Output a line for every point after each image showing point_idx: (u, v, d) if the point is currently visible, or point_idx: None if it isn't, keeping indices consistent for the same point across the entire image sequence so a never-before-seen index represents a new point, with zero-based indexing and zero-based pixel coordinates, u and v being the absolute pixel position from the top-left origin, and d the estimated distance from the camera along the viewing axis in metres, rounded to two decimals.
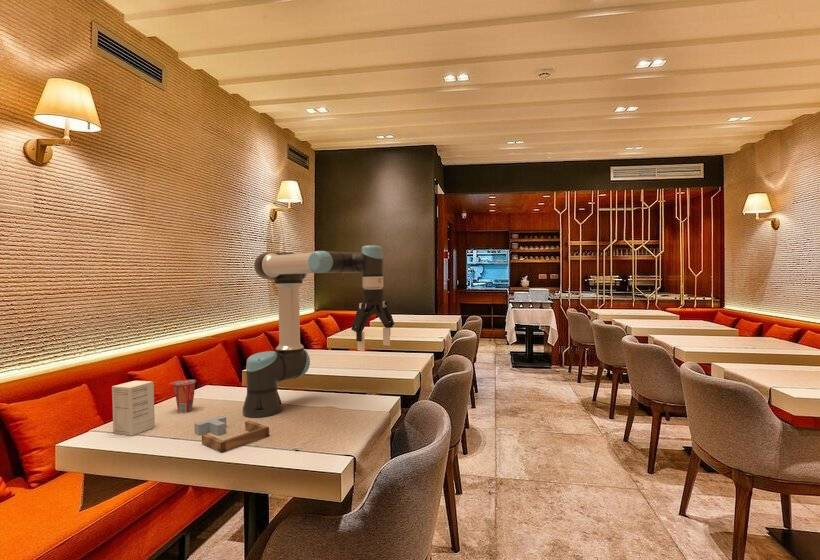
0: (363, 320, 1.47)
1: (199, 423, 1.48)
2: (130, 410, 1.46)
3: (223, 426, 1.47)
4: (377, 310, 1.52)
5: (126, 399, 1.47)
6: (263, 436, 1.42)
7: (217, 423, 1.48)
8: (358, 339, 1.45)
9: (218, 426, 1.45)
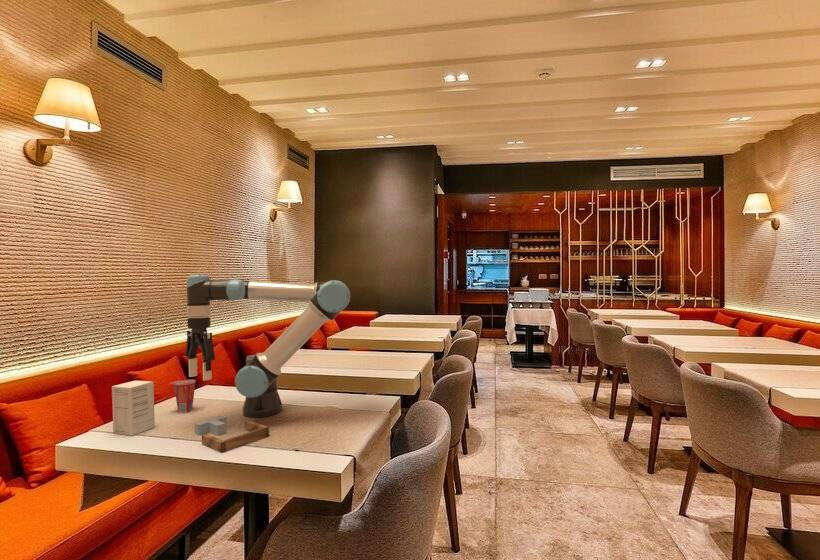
0: None
1: (199, 423, 1.48)
2: (130, 410, 1.46)
3: (223, 426, 1.47)
4: None
5: (126, 399, 1.47)
6: (263, 436, 1.42)
7: (217, 423, 1.48)
8: None
9: (218, 426, 1.45)
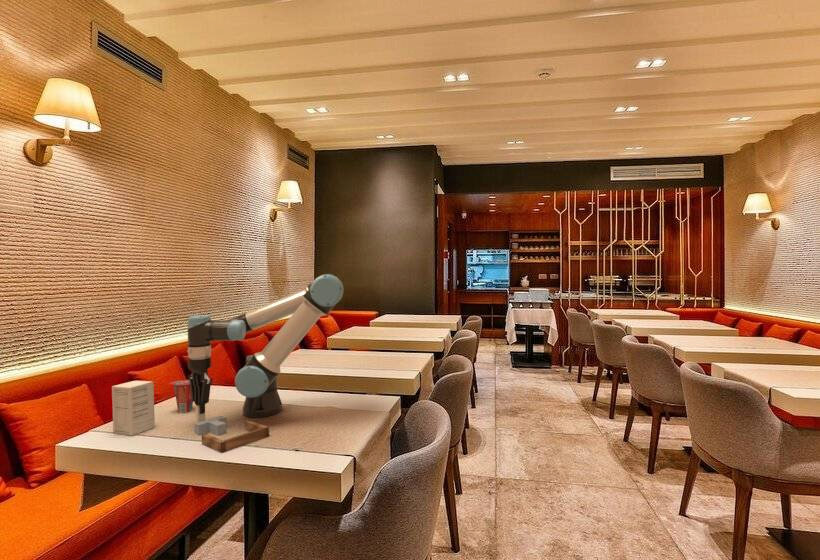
0: None
1: (199, 423, 1.48)
2: (130, 410, 1.46)
3: (223, 426, 1.47)
4: None
5: (126, 399, 1.47)
6: (263, 436, 1.42)
7: (217, 423, 1.48)
8: None
9: (218, 426, 1.45)
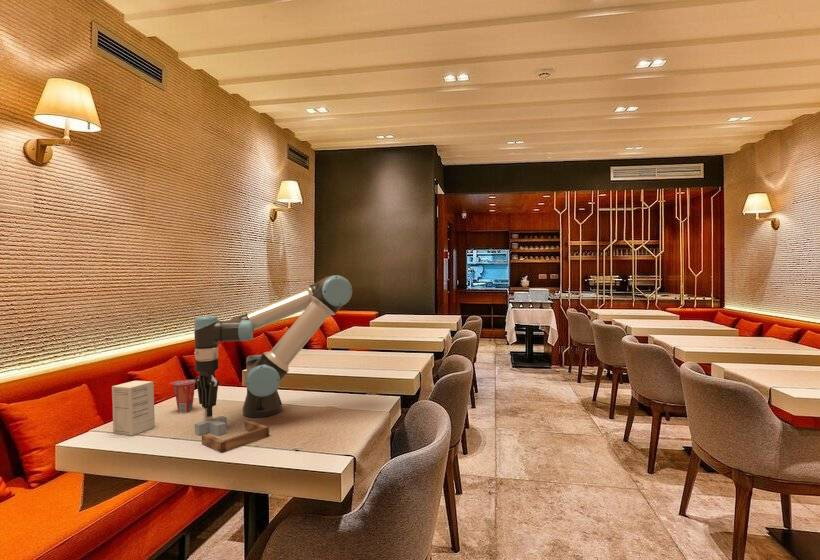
0: None
1: (199, 423, 1.47)
2: (130, 410, 1.46)
3: (224, 427, 1.47)
4: None
5: (126, 399, 1.47)
6: (263, 436, 1.42)
7: (217, 423, 1.47)
8: None
9: (218, 426, 1.45)
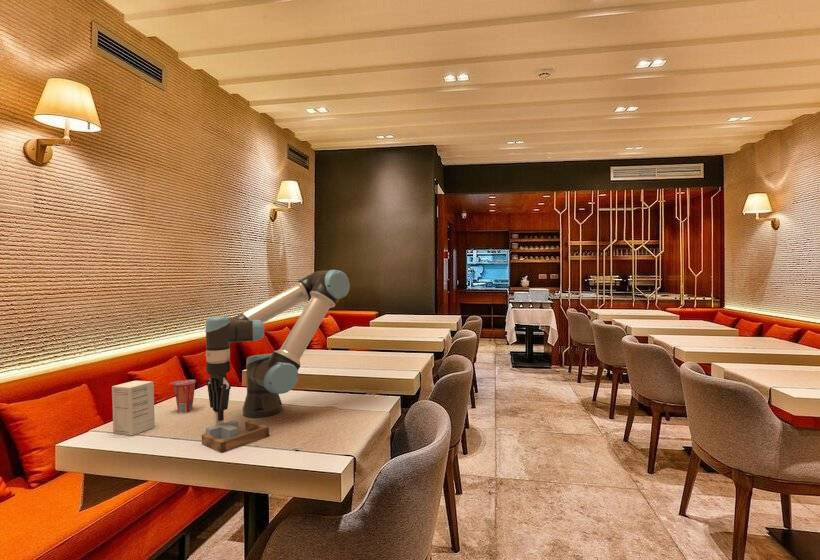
0: None
1: (211, 428, 1.43)
2: (130, 410, 1.46)
3: (236, 431, 1.42)
4: None
5: (126, 399, 1.47)
6: (263, 436, 1.42)
7: (229, 427, 1.42)
8: None
9: (230, 431, 1.40)
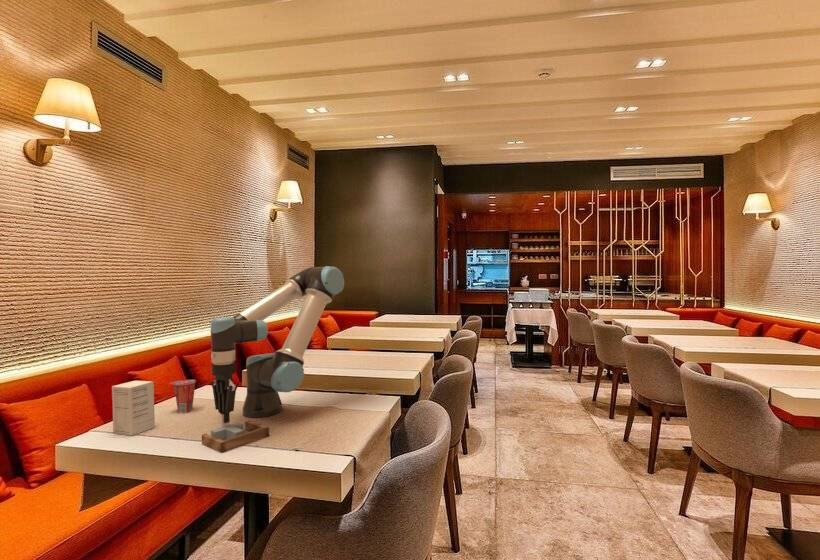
0: None
1: (216, 430, 1.40)
2: (130, 410, 1.46)
3: None
4: None
5: (126, 399, 1.47)
6: (263, 436, 1.42)
7: (235, 430, 1.40)
8: None
9: (236, 433, 1.38)
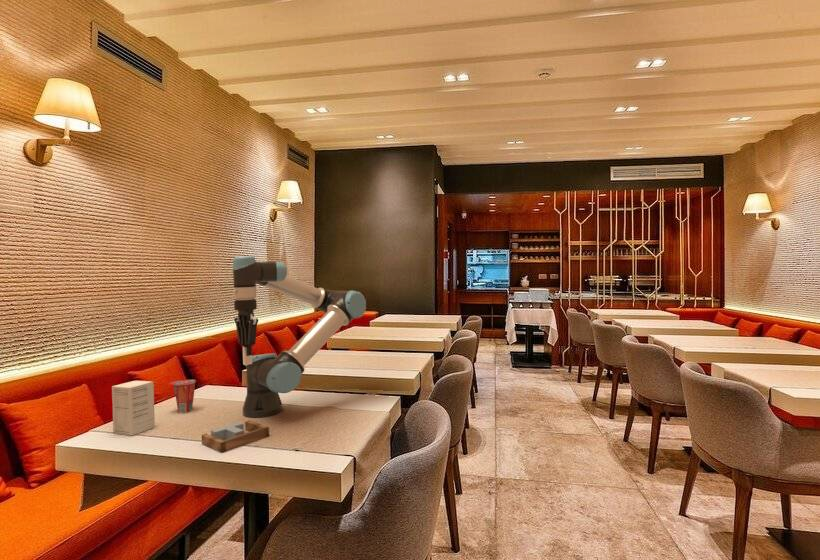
0: None
1: (216, 430, 1.40)
2: (130, 410, 1.46)
3: None
4: None
5: (126, 399, 1.47)
6: (263, 436, 1.42)
7: (235, 430, 1.40)
8: None
9: (236, 433, 1.38)
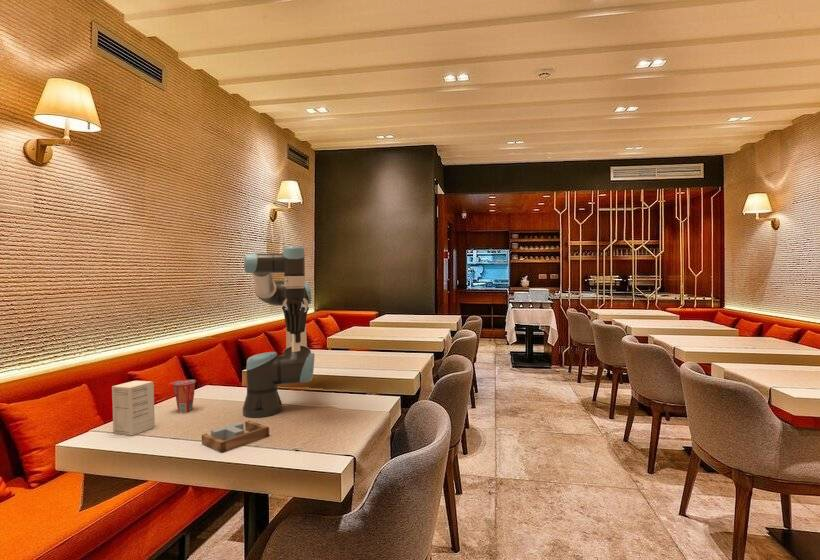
0: None
1: (216, 430, 1.40)
2: (130, 410, 1.46)
3: None
4: None
5: (126, 399, 1.47)
6: (263, 436, 1.42)
7: (235, 430, 1.40)
8: None
9: (236, 433, 1.38)
